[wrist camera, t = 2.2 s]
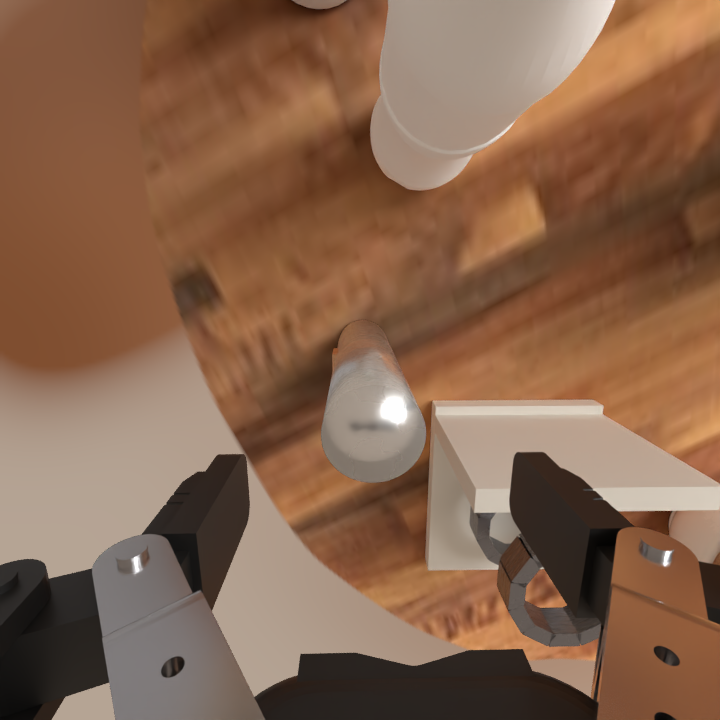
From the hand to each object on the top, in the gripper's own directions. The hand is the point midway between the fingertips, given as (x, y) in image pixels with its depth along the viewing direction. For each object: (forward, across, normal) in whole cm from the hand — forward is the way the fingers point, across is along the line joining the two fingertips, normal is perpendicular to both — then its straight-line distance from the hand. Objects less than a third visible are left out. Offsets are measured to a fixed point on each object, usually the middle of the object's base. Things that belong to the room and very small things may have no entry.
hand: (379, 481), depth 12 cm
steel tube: (+21, 0, 0) cm, 21 cm away
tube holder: (+21, -13, +14) cm, 29 cm away
